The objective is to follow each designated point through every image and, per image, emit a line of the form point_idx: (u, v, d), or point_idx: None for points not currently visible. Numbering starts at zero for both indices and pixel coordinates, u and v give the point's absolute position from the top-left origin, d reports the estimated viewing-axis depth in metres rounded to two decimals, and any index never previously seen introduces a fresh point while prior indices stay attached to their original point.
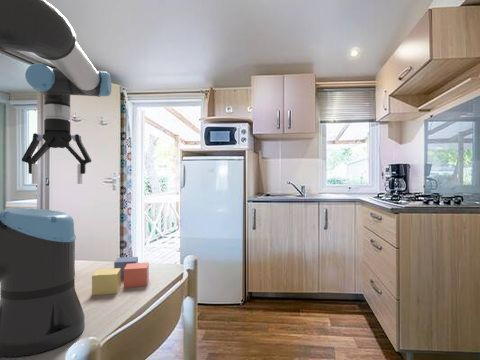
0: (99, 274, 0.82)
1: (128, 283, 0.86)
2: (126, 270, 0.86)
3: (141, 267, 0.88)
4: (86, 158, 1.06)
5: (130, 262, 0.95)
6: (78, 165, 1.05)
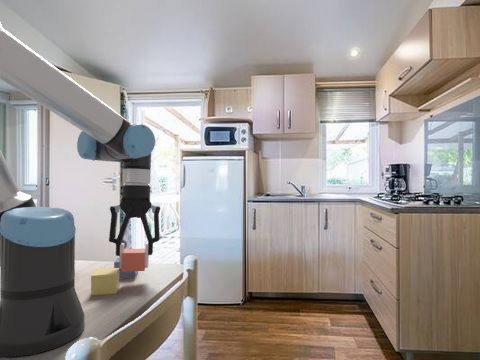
0: (98, 274, 0.81)
1: (125, 267, 0.86)
2: (124, 254, 0.86)
3: (139, 252, 0.88)
4: (156, 237, 0.89)
5: None
6: (146, 246, 0.89)
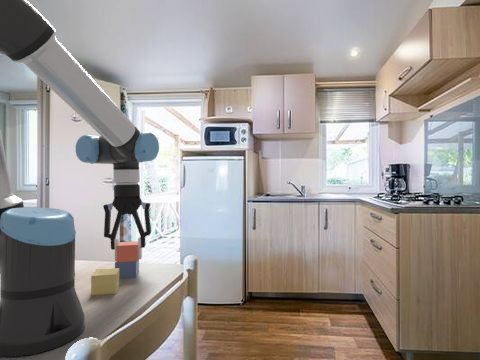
0: (98, 274, 0.81)
1: (120, 258, 0.94)
2: (118, 246, 0.94)
3: (132, 244, 0.96)
4: (148, 231, 0.98)
5: (131, 263, 0.95)
6: (139, 239, 0.97)
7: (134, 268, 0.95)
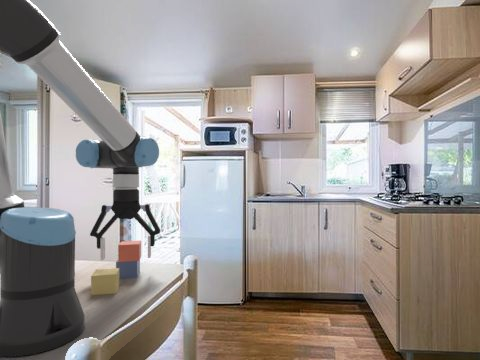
0: (98, 274, 0.81)
1: (122, 257, 0.94)
2: (120, 246, 0.94)
3: (134, 243, 0.96)
4: (157, 230, 0.98)
5: (132, 262, 0.95)
6: (148, 238, 0.97)
7: (135, 267, 0.95)
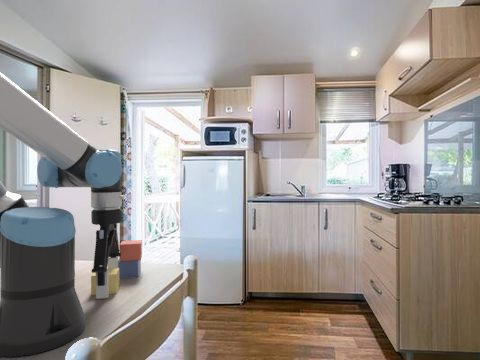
0: None
1: (123, 257, 0.95)
2: (122, 245, 0.95)
3: (135, 243, 0.97)
4: None
5: (133, 261, 0.95)
6: None
7: (136, 267, 0.95)
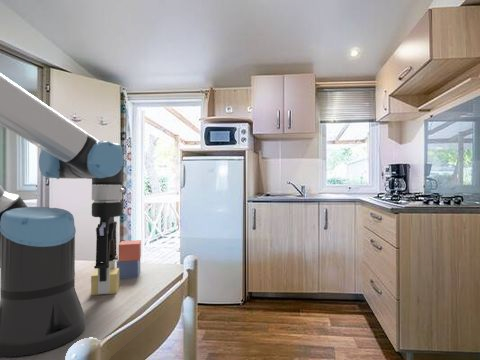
0: None
1: (122, 257, 0.95)
2: (121, 245, 0.95)
3: (134, 243, 0.96)
4: None
5: (132, 262, 0.95)
6: None
7: (136, 267, 0.95)
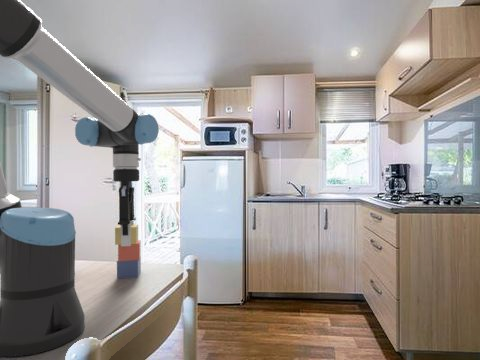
0: None
1: (122, 257, 0.95)
2: (120, 245, 0.95)
3: None
4: None
5: (133, 261, 0.95)
6: None
7: (136, 267, 0.95)
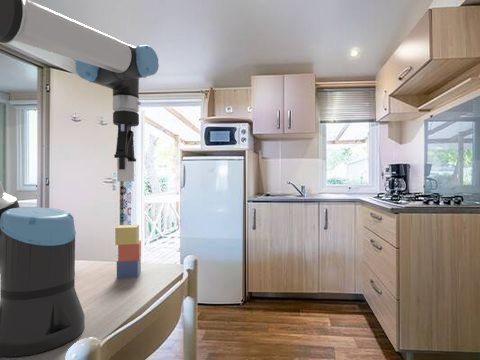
0: (121, 227, 0.95)
1: (122, 257, 0.95)
2: (120, 245, 0.95)
3: None
4: None
5: (132, 261, 0.95)
6: None
7: (136, 267, 0.95)
